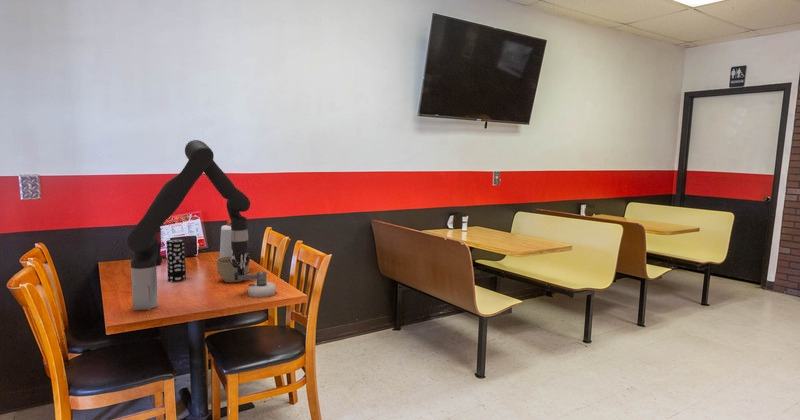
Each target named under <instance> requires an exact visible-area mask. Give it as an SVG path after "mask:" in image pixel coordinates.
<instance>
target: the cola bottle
mask: <svg viewBox="0 0 800 420" xmlns="http://www.w3.org/2000/svg"><path fill="white" fill-rule="evenodd" d="M161 228H162V227H161V226H160V227H159V229H158V230H157V232H156V234H157V239H158V257H157V261H156V267H157V265H158V266H160V265H161V264H162V263H163V256H162V254H161V251H162V233H161V232H162V229H161Z"/></svg>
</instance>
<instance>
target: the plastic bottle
mask: <svg viewBox="0 0 800 420" xmlns="http://www.w3.org/2000/svg"><path fill="white" fill-rule="evenodd" d="M232 254H233V250H232V249H231V220H230V219H229V220H227V221H226V224H225V225H221V227H220V242H219V258H222V257H229V256H232ZM249 272H250V267H249V268H248V271H247V273H249Z"/></svg>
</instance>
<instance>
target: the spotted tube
mask: <svg viewBox="0 0 800 420" xmlns="http://www.w3.org/2000/svg"><path fill="white" fill-rule="evenodd" d="M165 242H166V244H165V245H166V265H167V266H166V269H167V282H170V283H178V282H179V283H180V282H184V281H186V279H187V271H186V270H187V269H186V268H187V267H186V241H185V239H178V238H177V239H169V240H166V241H165Z"/></svg>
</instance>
